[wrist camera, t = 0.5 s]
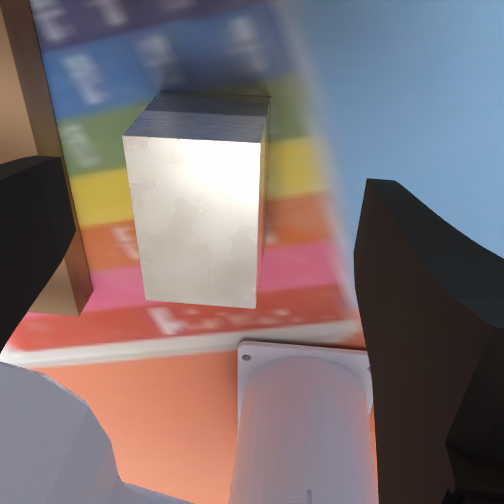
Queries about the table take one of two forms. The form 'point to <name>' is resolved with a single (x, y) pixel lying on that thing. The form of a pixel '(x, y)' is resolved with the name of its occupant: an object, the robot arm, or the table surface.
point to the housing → (200, 196)
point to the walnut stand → (36, 143)
